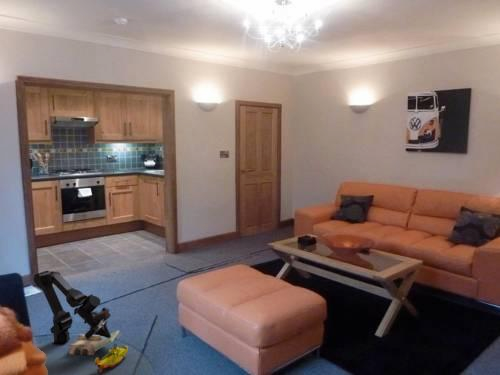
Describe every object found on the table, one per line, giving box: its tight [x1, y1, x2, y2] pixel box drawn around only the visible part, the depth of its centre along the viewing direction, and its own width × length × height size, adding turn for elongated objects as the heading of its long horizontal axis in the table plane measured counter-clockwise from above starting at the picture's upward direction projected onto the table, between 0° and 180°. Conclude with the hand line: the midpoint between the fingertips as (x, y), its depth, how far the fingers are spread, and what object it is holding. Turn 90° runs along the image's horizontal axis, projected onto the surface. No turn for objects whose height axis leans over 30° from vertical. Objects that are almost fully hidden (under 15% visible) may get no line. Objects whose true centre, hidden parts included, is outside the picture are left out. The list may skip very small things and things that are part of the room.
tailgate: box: [94, 329, 122, 352], centre depth 198 cm, size 2×10×12 cm
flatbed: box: [68, 333, 103, 356], centre depth 199 cm, size 12×11×5 cm
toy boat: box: [94, 343, 129, 374], centre depth 186 cm, size 6×18×10 cm, turn 152°
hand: (110, 337), depth 198 cm, fingers closed, pressing on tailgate
